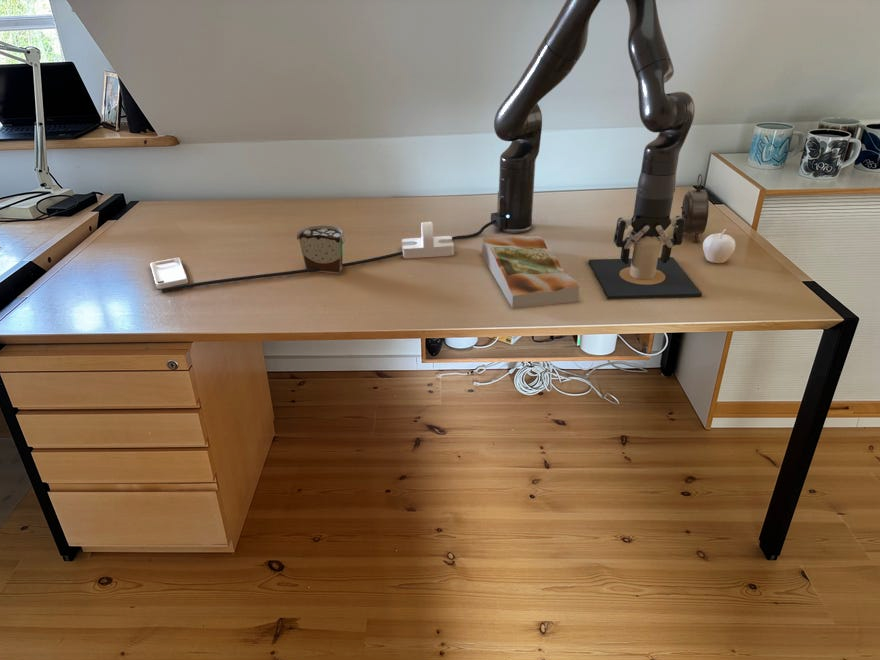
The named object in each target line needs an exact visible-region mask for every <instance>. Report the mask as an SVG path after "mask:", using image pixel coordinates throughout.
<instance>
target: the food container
mask: <svg viewBox="0 0 880 660" xmlns="http://www.w3.org/2000/svg"><path fill="white" fill-rule="evenodd" d="M296 240H298V241H299V245H300V250H301V254H302V259H303V262H304V263H303V264H304V267H305V269H310V268H320V271H316V272H317V273H329V274H337V275H341V274H342V273H343V267H342V264H343V245H344V244H345V243H346V237H345V235H344V232H343V230H342V229H341V228H339V227H337V226H334V225H326V224H325V225H323V224H322V225H312V226H307V227H304V228H302V229H300V230H298V231H297V234H296Z"/></svg>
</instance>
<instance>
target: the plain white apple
mask: <svg viewBox="0 0 880 660" xmlns="http://www.w3.org/2000/svg"><path fill="white" fill-rule="evenodd" d="M726 231H727V229H726V228H724V229H723V231H721V232H718V233H711V234H710V235H708V236H707V237H706V238H705V239H704V240H703V242H702V249H703V254H704V256H705V259H706V261H708V262H710V263H712V264H723V263H725V262H727V261H728V260H729V258H731V256H732V255H733V254H734V252H735V249H736V241H735V239H734V237H732V236H731V235H729V234H725V232H726Z"/></svg>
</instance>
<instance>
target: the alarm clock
mask: <svg viewBox="0 0 880 660" xmlns="http://www.w3.org/2000/svg"><path fill="white" fill-rule="evenodd" d="M699 181H700V183H699ZM702 183H703V174H702V173H700V174H698V176H697V181H696V184H697V185H696V189H691V190H688V191H687V192H686V193H685V194H684V197H683V199H682V204H681V205H682V206H680V209H681V218H682V219H683V220H684V228H683V233H685V234H686V235H694V239H695V240H694V242H695V243H698V242H699V241H698V240H699V235H700V234H701V235H702V234H704V233H705V231H706V228H707V224H708V218H709V210H710V209H709V206H710V205H709V204H710V203H709V194H708V191H707V190H706V189H701V188H702V185H703V184H702Z"/></svg>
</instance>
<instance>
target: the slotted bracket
mask: <svg viewBox="0 0 880 660" xmlns="http://www.w3.org/2000/svg"><path fill="white" fill-rule="evenodd" d="M420 234H421V236H420V237H410V238H409V237H408V238H402V239H401V250H402V251H403V254H402V258H403V259H417V258H418V259H419V258H420V259H421V258H434V257H450V256H454V255H455V244H454V242H453V240H452V237H453V236H451V235H441V236H434V226H433V221H424V222H423V221H422V222H421V223H420Z"/></svg>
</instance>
